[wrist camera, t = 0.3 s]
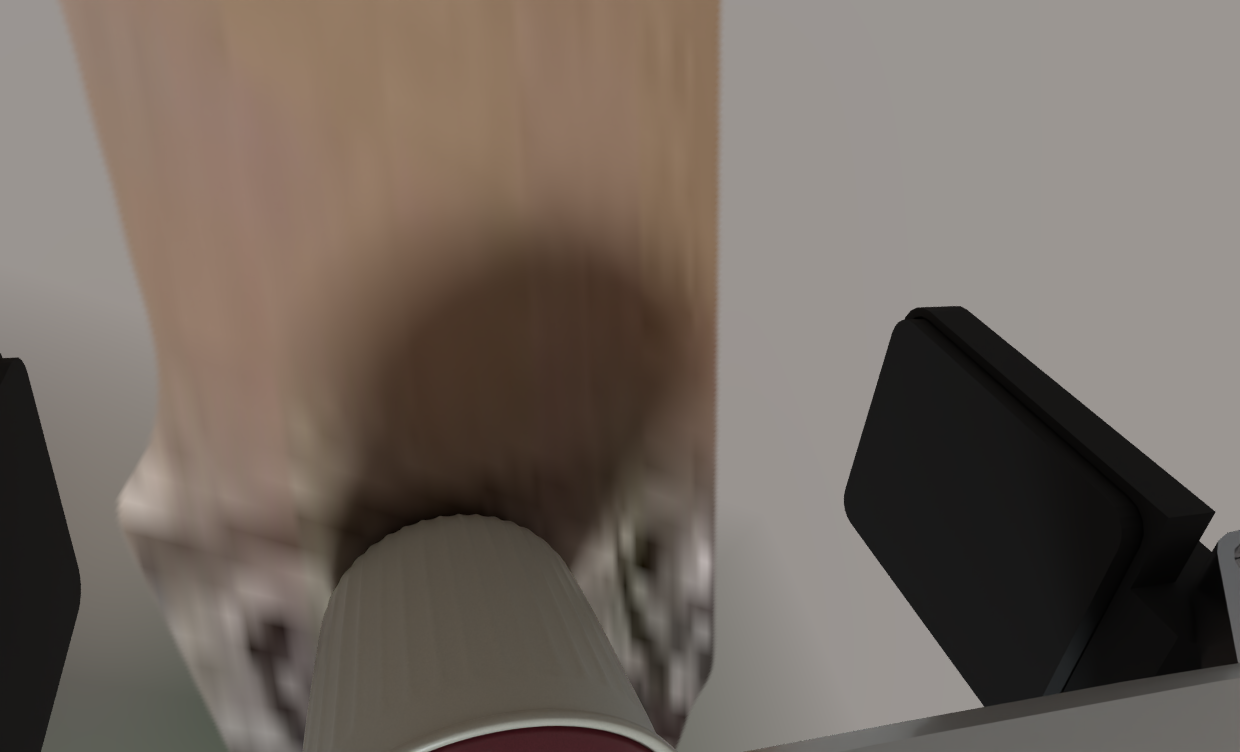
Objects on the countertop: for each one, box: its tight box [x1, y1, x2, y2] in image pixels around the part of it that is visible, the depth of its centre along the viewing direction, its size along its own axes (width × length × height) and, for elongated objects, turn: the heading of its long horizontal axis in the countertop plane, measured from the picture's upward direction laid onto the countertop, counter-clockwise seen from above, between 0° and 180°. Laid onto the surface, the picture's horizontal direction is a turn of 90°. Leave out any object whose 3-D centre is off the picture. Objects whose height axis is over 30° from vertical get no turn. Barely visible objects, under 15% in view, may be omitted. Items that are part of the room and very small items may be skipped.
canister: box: [303, 514, 677, 752], centre depth 44 cm, size 18×18×21 cm
